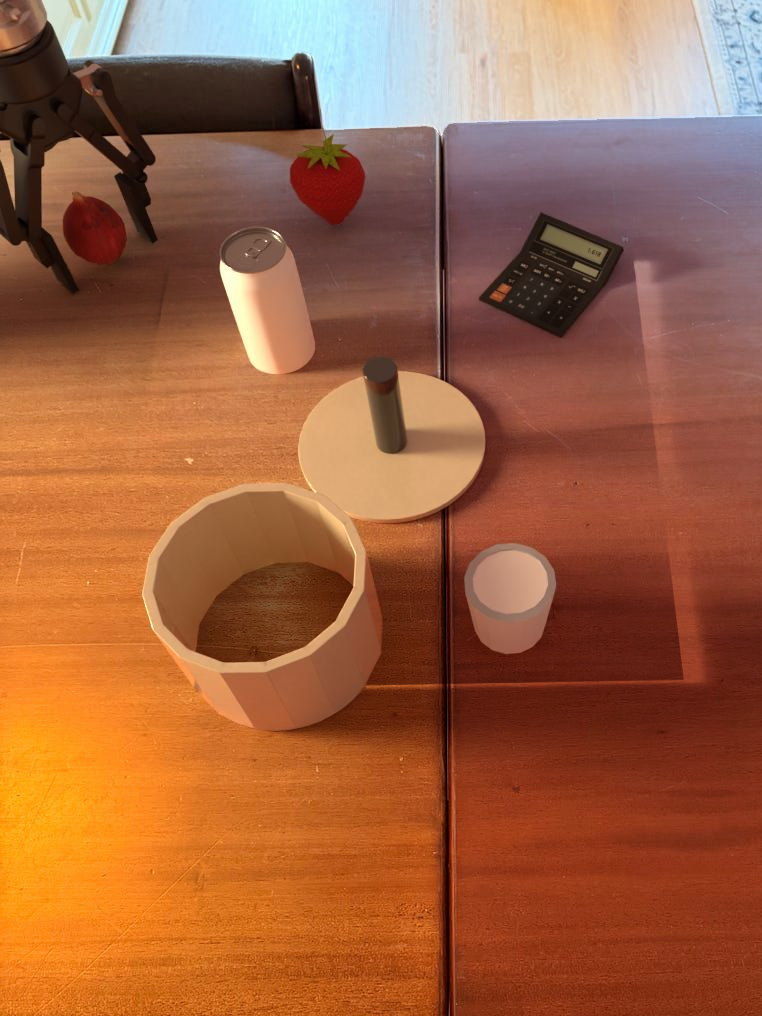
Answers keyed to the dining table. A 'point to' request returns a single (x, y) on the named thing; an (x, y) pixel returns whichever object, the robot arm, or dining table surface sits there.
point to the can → (267, 299)
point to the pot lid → (392, 444)
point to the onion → (94, 230)
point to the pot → (242, 549)
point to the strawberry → (328, 180)
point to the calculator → (554, 275)
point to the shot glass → (509, 596)
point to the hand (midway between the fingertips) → (108, 260)
